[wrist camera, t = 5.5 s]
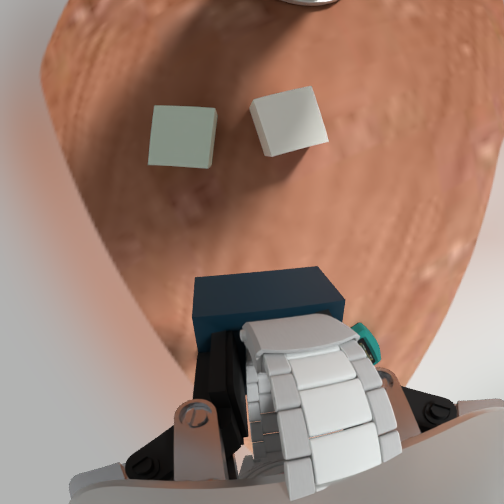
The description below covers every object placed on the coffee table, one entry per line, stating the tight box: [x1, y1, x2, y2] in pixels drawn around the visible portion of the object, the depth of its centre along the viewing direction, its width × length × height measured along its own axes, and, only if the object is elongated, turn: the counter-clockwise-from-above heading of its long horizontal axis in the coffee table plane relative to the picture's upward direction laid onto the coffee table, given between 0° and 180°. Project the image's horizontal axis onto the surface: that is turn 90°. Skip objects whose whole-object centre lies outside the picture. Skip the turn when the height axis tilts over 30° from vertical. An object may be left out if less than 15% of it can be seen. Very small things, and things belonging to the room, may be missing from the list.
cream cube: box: [249, 86, 329, 157], centre depth 24 cm, size 5×5×5 cm
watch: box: [192, 266, 402, 501], centre depth 8 cm, size 6×8×11 cm
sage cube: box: [148, 105, 218, 169], centre depth 24 cm, size 5×5×5 cm
